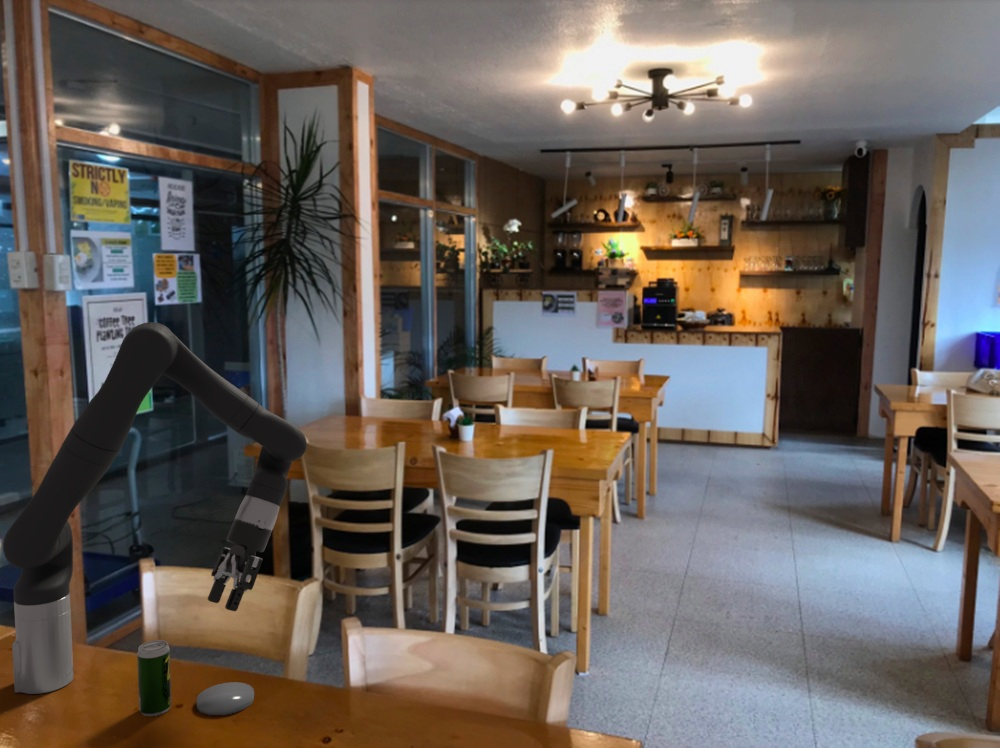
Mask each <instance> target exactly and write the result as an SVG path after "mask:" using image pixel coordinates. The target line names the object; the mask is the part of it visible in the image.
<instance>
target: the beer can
mask: <svg viewBox="0 0 1000 748" xmlns="http://www.w3.org/2000/svg"><path fill="white" fill-rule="evenodd" d="M170 649H171V648H170V646H169V643H168V642H167V640H162V639H157V640H150V641H146V642H144V643H141V644H140V645H139V646H138V651H137V653H136V655H137V656H136V658H137V683H138V684H137V685H138V708H139V710H138V711H139V712H140V713H141V715H142V714H143V715H145V716H155V717H157V716H156V715H159V716H162V715H164V714H166V713H168V712H169V711H168V710H170V709H171V706H172V684H171V683H172V680H171V679H172V677H171V650H170ZM165 712H166V713H165ZM163 713H164V714H163ZM161 714H162V715H161ZM143 715H142V716H143ZM145 716H144V717H145Z"/></svg>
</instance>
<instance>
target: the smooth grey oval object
mask: <svg viewBox="0 0 1000 748" xmlns="http://www.w3.org/2000/svg"><path fill="white" fill-rule="evenodd" d="M254 701H255V690H254V688H253V686H251V685H250V684H248V683H245V682H237V681H235V682H234V681H233V682H231V681H229V682H223V683H219V684H215V685H212V686H210V687H207V688H206V689H204V690H203V691H201V692H200V693H199V694H198V695H197V696H196V709H197V711H199V712H200V713H201V714H203V713H204V715H206V714H208V715H207V716H211V715H222V716H229V715H233V714H236V713H239V712H241V711H244V710H245V709H247V708H249V706H251V705H252V704H253V702H254ZM232 713H233V714H232ZM228 714H229V715H228Z"/></svg>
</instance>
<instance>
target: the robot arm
mask: <svg viewBox="0 0 1000 748" xmlns="http://www.w3.org/2000/svg"><path fill="white" fill-rule="evenodd" d="M162 375H164V376H165V377H166V378H169V379H171V380H172V381H173V382H175V383H176V384H178V385H179V386H181V387H182V388H183V389H184V390H186V391H187V392H188V393H190V395H192V396H193V397H194V398H195V399H196V400H197V402H199V403H200V404H201V405H202V406H203V407H204V409H206V410H207V411H208V412H209V414H211V415H213V416H214V418H216V419H217V420H219V421H220V422H221V423H223V424H224V425H226V426H227V427H228V428H230V429H231V430H233V431H234V432H236V433H237V434H239V435H240V436H242V437H244V438H246V439H250V440H252V441H255V442H256V443H258V444H259V445H260V446H261V449H260V452H259V456H258V459H257V462H256V468H255V472H254V475H253V477H252V478H251V481H250V484H249V486H248V487H247V488H248V489H247V491H246V494H245V496H244V498H243V500H242V501H241V504H240V505H239V507H238V510H237V513H236V514H235V517H234V520H233V522H232V525H231V526H230V530H229V532H228V534H227V537H226V541H227V542H229V543H231V544H232V545H231V547H230V548H229V547H227V546H223V547H222V548H221V549H220V553H219V555H218V557H217V559H216V561H215V564H214V567H213V569H212V572H211V576H210V577H213V584H212V586H211V589H210V591H209V594H208V597H207V601H209V602H210V603H215V604H219V602H220V601H221V598H222V596H223V593H224V590H225V588H226V586H227V583H228V582H229V581H230V579H231V578H232V579H233V582H232V583H233V584H232V585H233V586H232V588H231V590H230V592H229V596H228V597H227V601H226V603H225V606H224V608H225V609H226V610H227V611H231V612H237V611H238V609H239V606H240V604H241V601H242V599H243V595H244V594H245V593H246V592H247V591H248V590H249V591H252V590H253V589H254V585H255V582H256V581H257V577H258V574H259V571H260V568H261V566H262V563H263V558H262V557H259V556H256V554H257V552H259V553H263V552H264V551H266V550H265V549H266V547H267V545H268V542H269V540H270V537H271V534H272V532H273V530H274V528H275V524H276V521H277V519H278V516H279V511H280V507H281V505H282V503H283V501H284V498H285V496H286V492H287V489H288V485H289V481H288V478H287V477H288V474H289V471H290V469H291V465H292V463H293V462H294V461H297V460H299V459H300V458H302V457H303V456H304V455H305V453H306V450H307V447H308V445H307V444H308V443H307V438H306V436H305V434H304V433H303V432H302V431H301V429H299V428H298V427H296V425H294V424H292V423H291V422H289V421H288V420H285V419H284V418H282V417H280V416H278V415H276V414H275V413H273V412H271V411H269V410H268V409H266V408H265V407H264V406H262V405H261V404H260V403H258V401H256V400H255V399H253V398H252V397H250V396H249V395H248V394H246V393H245V392H243V391H242V390H241V389H239V388H238V387H236V386H235V385H234V384H232V382H229V381H228V380H226V379H225V378H224V377H223V376H221V375H220V374H218V373H217V372H216V371H214V370H213V369H212V368H211V367H209V366H208V365H207V364H206V363H204V362H203V361H202V360H201V359H200V358H199V357H198V356H197V355H196V354H194V352H192V351H191V350H190V348H188V347H187V346H186V345H185V344H184V342H182V340H180V339H179V338H178V337H177V336H176V334H174V333H173V332H172V330H171V329H170V328H169V327H167V326H166V325H164V324H161V323H160V322H156V321H155V322H154V321H153V322H152V321H150V322H149V321H148V322H143V323H141V324H138V325H137V326H135V327H133V328H132V329H130V331H129V332H127V333H126V335H125V336H124V338H123V339H122V342H121V344H120V346H119V349H118V352H117V354H116V356H115V359H114V361H113V363H112V366H111V367H110V370H109V372H108V373H107V377H105V380H104V382H103V383H102V385H101V386H100V388H99V390H98V391H97V392H96V393H95V395H94V396H93V397H92V398H91V400H90V401H89V402H88V404H87V405H86V406H85V407H84V409H83V410H82V412H81V414H80V415H79V416H78V418H77V419H76V420H75V422H74V423H73V425H72V427H71V428H70V430H69V432H68V433H67V436H66V437H65V438H64V440H63V442H62V443H61V445H60V448H59V449H58V452H57V454H55V456H54V459H52V462H51V464H50V466H49V467H48V469H47V471H46V472H45V473H46V474H45V475H44V477H43V479H42V481H40V482H41V483H40V485H39V486H38V488H37V490H36V491H35V493H34V495H33V496H32V497H31V499H30V501H29V502H28V503H27V505H26V506H25V507H24V509H22V511H21V513H20V514H19V515H18V517H17V518H16V519H15V521H14V522H12V525H10V527H9V529H7V531H6V533H5V535H4V538H3V543H2V551H3V554H4V557H5V559H6V561H7V562H8V563H9V564H10V565H11V566H12V567H14V568H17V569H20V570H21V572H20V575H19V577H18V579H17V581H16V583H15V584H14V586H13V608H14V611H13V612H14V624H15V640H14V641H13V643H12V646H11V649H12V667H13V668H12V669H13V684H14V686H13V687H14V693H23V694H28V695H38V694H39V695H40V694H45V693H50V692H54V691H57V690H60V689H62V688H63V687H65V686H67V685H69V684H70V683H72V681H73V680H74V662H73V661H74V657H73V638H72V637H73V636H72V635H73V633H72V616H71V615H72V614H71V595H70V594H71V593H70V584H71V580H72V577H73V572H74V543H73V542H74V540H73V531H72V527H71V524H70V522H69V519H70V517H71V515H72V513H74V511H75V509H76V508H77V506H78V505H79V504H80V503H81V502H82V501H83V500H84V499H85V497H86V496H87V495H88V494H89V493H90V492H91V491H92V489H93V488H94V487H95V486H96V485H97V484H98V483H99V482H100V480H101V479H102V478H103V477H104V475H105V474H106V473H107V472H108V470H109V469H110V467H111V466H112V464H113V463H114V461H115V459H117V458H116V457H117V456H118V454H119V452H120V451H121V449H122V447H123V445H124V444H125V441H126V440H127V438H128V436H129V433H130V431H131V429H132V426H133V423H134V421H135V420H136V415H137V413H138V410H139V408H140V406H141V405H142V403H143V401H144V399H145V398H146V396H147V395H148V394H149V393H150V391H151V390H152V388H153V387H154V385H155V384H156V383H157V382H158V380H159V379H160V378H161V376H162Z"/></svg>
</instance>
